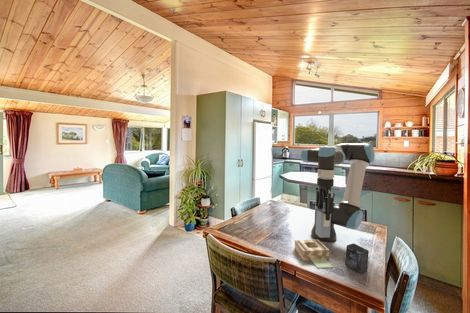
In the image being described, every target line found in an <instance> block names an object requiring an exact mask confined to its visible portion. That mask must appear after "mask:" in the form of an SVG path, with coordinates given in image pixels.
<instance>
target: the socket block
mask: <svg viewBox="0 0 470 313" xmlns="http://www.w3.org/2000/svg"><path fill="white" fill-rule="evenodd" d="M294 250H295V252H297V254H298V255H299V256H300V257H301V259H302V261H311V259H326V260H329V259H330V249H329V248H328V247H327V246H326V245H325V244H323V242H322V241H320V240H317V239H297V240H295V239H294Z"/></svg>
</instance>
